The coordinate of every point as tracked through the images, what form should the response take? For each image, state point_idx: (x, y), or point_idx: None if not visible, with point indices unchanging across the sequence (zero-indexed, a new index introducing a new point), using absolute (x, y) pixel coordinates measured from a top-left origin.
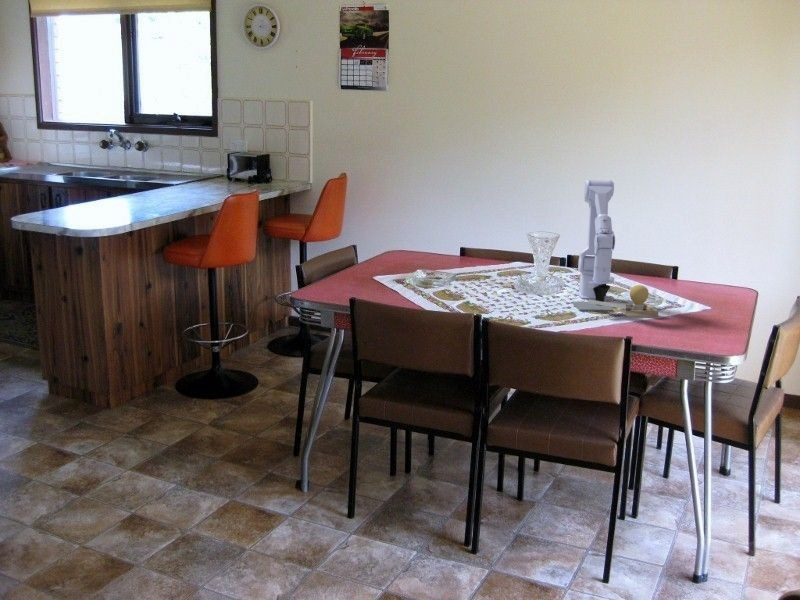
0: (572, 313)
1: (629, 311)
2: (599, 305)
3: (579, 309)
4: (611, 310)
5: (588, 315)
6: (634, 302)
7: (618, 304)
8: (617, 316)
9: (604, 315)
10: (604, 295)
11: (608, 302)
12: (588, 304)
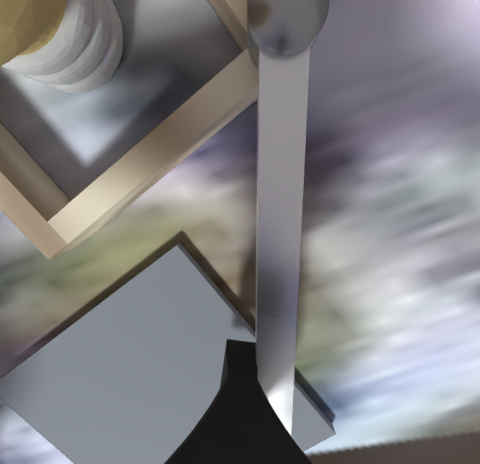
0: (438, 431)
1: None
2: (119, 376)
3: (325, 435)
4: (188, 255)
5: (436, 335)
6: (55, 2)
7: (304, 161)
8: (334, 144)
9: (365, 244)
10: (245, 412)
11: (284, 295)
12: (151, 439)
